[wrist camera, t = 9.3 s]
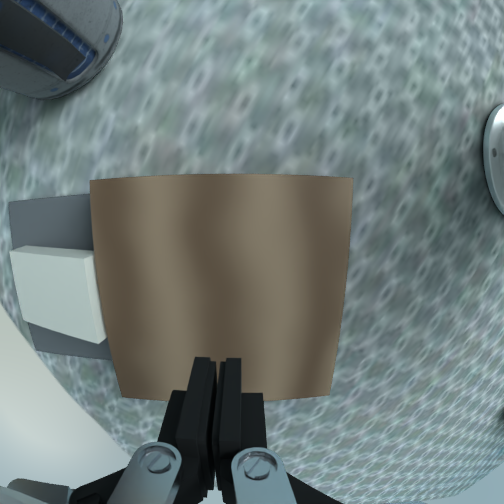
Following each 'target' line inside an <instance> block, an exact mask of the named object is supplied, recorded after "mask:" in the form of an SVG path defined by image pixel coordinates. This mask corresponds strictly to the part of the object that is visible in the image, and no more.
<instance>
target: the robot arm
mask: <svg viewBox="0 0 504 504" xmlns="http://www.w3.org/2000/svg"><path fill="white" fill-rule="evenodd" d="M483 158H484V169H485V174H486V180H487V183H488V187H489V191H490V193H491V196H492V198H493V201H494V202H495V204H496V206H497V208H498V209H499V210H500V212H501V213H502V214H503V215H504V104H501V105H499V106H497V107H496V108H495V109H494V110H493V111H492V113H491V114H490V116H489V119H488V121H487V124H486V128H485V133H484V141H483ZM215 472H216V479H217V486H218V490H219V491H222V497H223V502H224V503H226V504H343V503H341V502H339V501H337V500H335V499H333V498H331V497H329V496H327V495H325V494H323V493H322V492H320V491H318V490H316V489H314V488H312V487H311V486H309V485H307V484H305V483H304V482H302V481H300V480H299V479H297V478H295V477H294V476H292V475H290V474H289V473H287V472H286V470H285V467H284V464H283V461H282V460H281V458H280V456H279V455H277V454H276V453H275V452H273V451H271V450H269V449H267V441H266V428H265V414H264V401H263V393H242V370H241V358H226V361H221V362H220V369H219V377H218V383H217V367H216V361H211V359H210V357H195V358H194V362H193V366H192V370H191V374H190V378H189V382H188V386H187V391H185V390H173V391H172V393H171V396H170V399H169V403H168V406H167V410H166V413H165V416H164V420H163V423H162V427H161V430H160V434H159V437H158V441H157V442H151V443H148V444H145V445H143V446H141V447H140V448H138V449H137V451H136V452H135V453H134V455H133V457H132V459H131V460H130V462H129V464H128V466H127V467H126V468H124V469H121V470H119V471H117V472H115V473H112V474H110V475H108V476H105V477H103V478H101V479H98V480H96V481H94V482H91V483H88V484H86V485H83V486H80V487H79V488H77V489H70V488H69V486H63V485H56V484H49V483H43V482H38V481H32V480H27V479H15V480H13V481H12V482H10V483H9V485H8V486H7V488H5V487H2V486H0V504H198V503H200V502H201V501H203V497H206V498H207V492H208V490H213V489H214V479H215ZM384 504H426V503H424V502H421V501H409V502H398V503H384Z"/></svg>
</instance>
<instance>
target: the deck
mask: <svg viewBox="0 0 504 504" xmlns="http://www.w3.org/2000/svg"><path fill="white" fill-rule="evenodd" d="M352 196H353V178H346V177H329V176H309V175H281V174H190V175H162V176H142V177H126V178H112V179H100V180H90V203H91V220H92V233H93V245H94V254H95V263H96V271H97V279H98V286H99V293H100V299H101V305H102V311H103V316H104V322H105V327H106V332H107V337H108V342H109V346H110V351H111V355H112V360H113V364H114V368H115V372H116V376H117V380H118V383H119V387H120V391H121V394H122V397H125V398H136V399H147V400H161V401H169V399H170V396H171V393H172V391H173V390H185V391H187V386H188V382H189V378H190V374H191V370H192V366H193V362H194V358H195V357H210V359H211V361H216V367H217V383H218V377H219V369H220V362H221V361H226V358H241V370H242V393H263V401H273V400H287V399H299V398H309V397H318V396H327V395H329V394H330V389H331V384H332V378H333V372H334V367H335V361H336V355H337V348H338V342H339V335H340V328H341V321H342V313H343V305H344V297H345V288H346V279H347V269H348V258H349V246H350V232H351V216H352Z"/></svg>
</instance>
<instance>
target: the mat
mask: <svg viewBox="0 0 504 504" xmlns="http://www.w3.org/2000/svg"><path fill="white" fill-rule="evenodd" d="M9 215H10V226H11V235H12V243H13V250H14V249H17V248H20V247H23V246H26V245H27V246H39V247H52V248H64V249H77V250H91V251H94V245H93V233H92V220H91V203H90V194H83V195H71V196H60V197H50V198H40V199H31V200H23V201H14V202H9ZM28 324H29V328H30V331H31V335H32V338H33V342H34V345H35V348H36V350H37V351H43V352H49V353H56V354H63V355H70V356H78V357H86V358H95V359H105V360H112V355H111V351H110V346H109V342H108V337H107V338H105V339H104V340H103V341H102V342H100V343H99V344H97V343H93V342H90V341H86V340H83V339H79V338H76V337H72V336H69V335H66V334H63V333H60V332H56V331H53V330H50V329H47V328H44V327H41V326H38V325H35V324H33V323H30V322H28Z"/></svg>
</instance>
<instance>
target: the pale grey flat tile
mask: <svg viewBox="0 0 504 504" xmlns="http://www.w3.org/2000/svg"><path fill="white" fill-rule="evenodd" d="M9 252H10V258H11V265H12V270H13V276H14V281H15V286H16V291H17V296H18V300H19V304H20V309H21V313H22V317H23V320H24V321H27V322H30V323H33V324H35V325H38V326H41V327H44V328H47V329H50V330H53V331H56V332H60V333H63V334H66V335H69V336H72V337H76V338H79V339H83V340H86V341H90V342H93V343H97V344H99V343H100V342H102V341H103V340H104V339H105V338H107V332H106V327H105V322H104V316H103V311H102V305H101V299H100V293H99V286H98V279H97V271H96V263H95V254H94V251H91V250H77V249H64V248H52V247H39V246H27V245H26V246H23V247H20V248H17V249H14V250H11V251H9Z"/></svg>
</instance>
